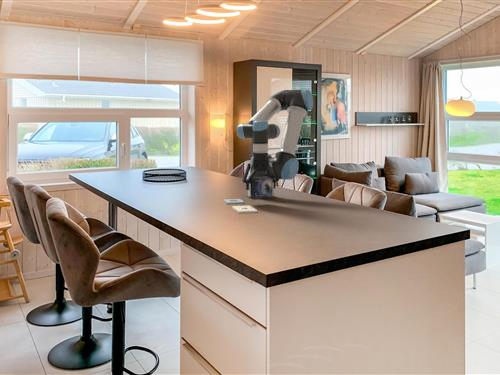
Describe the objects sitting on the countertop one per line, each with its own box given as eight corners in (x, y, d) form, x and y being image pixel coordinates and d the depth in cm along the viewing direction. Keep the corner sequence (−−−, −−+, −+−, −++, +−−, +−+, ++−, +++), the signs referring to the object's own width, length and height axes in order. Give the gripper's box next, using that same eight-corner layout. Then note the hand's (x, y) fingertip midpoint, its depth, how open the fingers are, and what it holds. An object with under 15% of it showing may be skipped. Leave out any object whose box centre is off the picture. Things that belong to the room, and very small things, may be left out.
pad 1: (239, 200, 252) (239, 198, 252) (244, 203, 243) (244, 201, 242) (223, 201, 250) (223, 199, 250) (227, 204, 240) (227, 202, 240)
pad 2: (249, 207, 232) (249, 205, 232) (257, 212, 219) (257, 210, 219) (231, 207, 230) (231, 206, 230) (238, 213, 216) (238, 211, 216)
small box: (254, 200, 234) (254, 179, 232) (248, 198, 239) (248, 177, 238) (273, 198, 238) (273, 177, 237) (266, 196, 244) (266, 175, 242)
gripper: (280, 150, 242) (280, 193, 245) (235, 152, 236) (236, 195, 239) (285, 152, 234) (285, 195, 238) (239, 153, 229) (239, 198, 232)
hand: (260, 195), depth 239 cm, fingers closed on small box, 11 cm apart
